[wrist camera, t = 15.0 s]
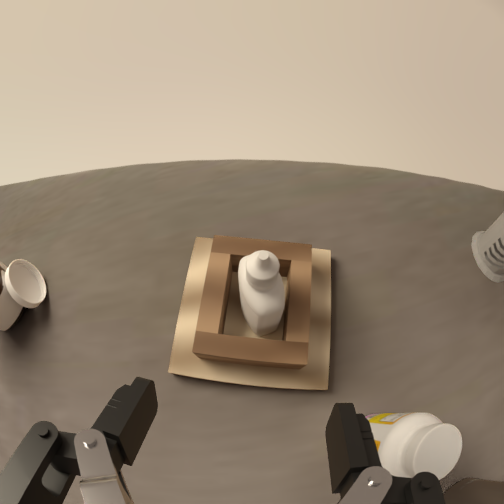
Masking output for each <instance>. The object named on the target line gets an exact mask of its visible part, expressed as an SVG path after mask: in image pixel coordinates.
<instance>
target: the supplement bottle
mask: <svg viewBox="0 0 504 504" xmlns="http://www.w3.org/2000/svg"><path fill="white" fill-rule="evenodd" d="M365 417H366V418H367V420H368V421H369V423H370V426H371V429H372V433H373V436H374V440H375V443H376V447H377V451H378V454H379V458H380V462H381V465H382V467H383V468H385V469H386V470H388V471H389V472H390V474H391V475H393V476H397V477H406V478H413V477H414V476H415V475H416V474H417V473H420V472H430V473H433V474H434V475H436V477H437V478H438V480H440V479H442V478H444V477H445V476H446V475H447V474H448V473H449V472H450V471H451V470H452V469H453V468H454V466H455V465H456V463H457V461H458V459H459V457H460V454H461V450H462V437H461V433H460V431H459V430H458V429H457V428H456V427H455V426H454V425H451V424H443V423H442V421H441V420H440V419H439V418H438V417H436V416H434V415H432V414H430V413H424V412H421V413H376V414H371V415H368V416H365Z"/></svg>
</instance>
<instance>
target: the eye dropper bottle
mask: <svg viewBox="0 0 504 504" xmlns="http://www.w3.org/2000/svg"><path fill="white" fill-rule="evenodd" d="M279 269H280V264H279V261H278V258H277V257H276V256H275V255H274V254H273V253H271V252H269V251H266V250H265V251H264V250H260V251H256V252H254V253H252V254H251V255H248V256H245V257H243V258H242V259H241V260H240V263H239V268H238V280H239V291H240V301H241V309H242V313H243V316H244V318H245V320H246V322H247V324H248V326H249V327H250V328H251V330H252V331H253V332H254V333H255V334H256V335H258V336H263V335H267V334H270V333H273V332H275V331H276V330H277V328H278V325H279V322H280V320H281V317H282V314H283V310H284V305H285V291H284V285H283V281H282V278H281V275H280V273H279Z"/></svg>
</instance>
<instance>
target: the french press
mask: <svg viewBox="0 0 504 504" xmlns="http://www.w3.org/2000/svg"><path fill="white" fill-rule="evenodd" d="M472 250H473V255H474V258H475V260H476V262H477V265H478V266H479V268H480V269H481V271H482V272H483V274H484V275H485V276H487V277H488V278H489V279H490V280H491V281H494V282H497V283H500V282H502V281H504V212H503V213H502V214H501V215H500V216H499V217H498V219H496V220H495V221H494V223H493V224H492V225H491V226H490V227H489V228H488V229H487V230H486V231H479V232H476V233H475V235H474V236H473V239H472Z"/></svg>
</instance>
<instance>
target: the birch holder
mask: <svg viewBox="0 0 504 504" xmlns="http://www.w3.org/2000/svg"><path fill="white" fill-rule="evenodd" d="M260 250H264V251H265V250H266V251H269V252H271V253H273V254H274V255H275V256H276V257H277V258H278V261H279V264H280V269H279V273H280V275H281V278H282V281H283V285H284V291H285V305H284V310H283V314H282V317H281V320H280V322H279V325H278V328H277V330H276V331H275V332H273V333H270V334H267V335H263V336H258V335H256V334H255V333H254V332H253V331H252V330H251V328H250V327H249V326H248V324H247V322H246V320H245V318H244V316H243V313H242V309H241V301H240V291H239V280H238V268H239V263H240V260H241V259H242V258H243V257H245V256H248V255H251V254H252V253H254V252H256V251H260ZM330 332H331V253H330V250H324V249H314V248H312V245H310V244H300V243H290V242H280V241H270V240H260V239H250V238H239V237H229V236H218V235H214V238H213V239H212V238H201V237H196V240H195V244H194V248H193V252H192V257H191V261H190V265H189V270H188V274H187V279H186V283H185V288H184V292H183V297H182V302H181V307H180V311H179V316H178V321H177V326H176V332H175V337H174V342H173V348H172V353H171V359H170V364H169V370H168V372H169V373H172V374H176V375H182V376H187V377H193V378H198V379H204V380H211V381H218V382H225V383H232V384H240V385H249V386H259V387H270V388H283V389H300V390H328V377H329V358H330Z"/></svg>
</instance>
